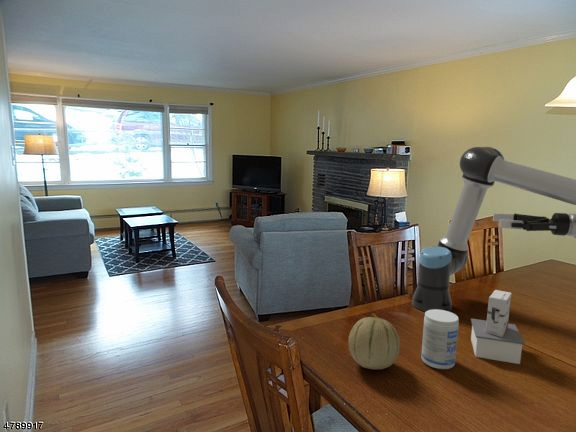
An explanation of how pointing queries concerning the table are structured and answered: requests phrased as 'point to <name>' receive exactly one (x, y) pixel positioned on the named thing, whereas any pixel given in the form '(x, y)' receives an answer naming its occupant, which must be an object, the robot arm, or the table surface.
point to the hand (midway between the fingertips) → (496, 220)
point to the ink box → (498, 313)
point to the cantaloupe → (374, 343)
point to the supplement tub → (440, 339)
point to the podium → (496, 343)
